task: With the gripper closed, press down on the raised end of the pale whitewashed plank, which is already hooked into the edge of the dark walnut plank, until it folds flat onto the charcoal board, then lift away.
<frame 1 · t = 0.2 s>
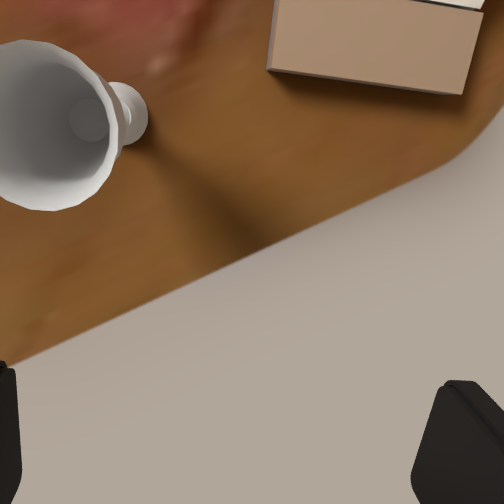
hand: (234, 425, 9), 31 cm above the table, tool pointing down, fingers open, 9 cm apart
chalice: (117, 114, 36), on the table
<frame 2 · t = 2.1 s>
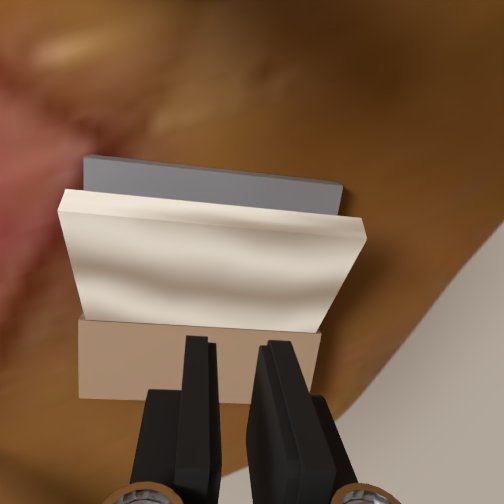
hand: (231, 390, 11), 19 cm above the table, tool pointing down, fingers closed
floor sample board: (207, 281, 30), on the table
pale plank: (211, 273, 25), point 5 cm above the table, hinge at 30.0°
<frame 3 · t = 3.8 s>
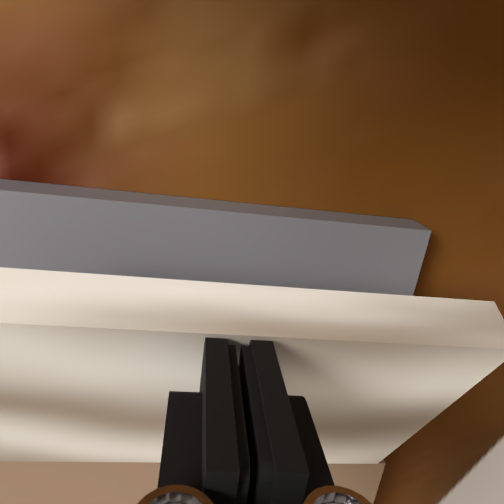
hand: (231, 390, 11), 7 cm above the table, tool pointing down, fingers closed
floor sample board: (201, 373, 19), on the table
pale plank: (209, 392, 14), point 5 cm above the table, hinge at 27.0°, touching gripper
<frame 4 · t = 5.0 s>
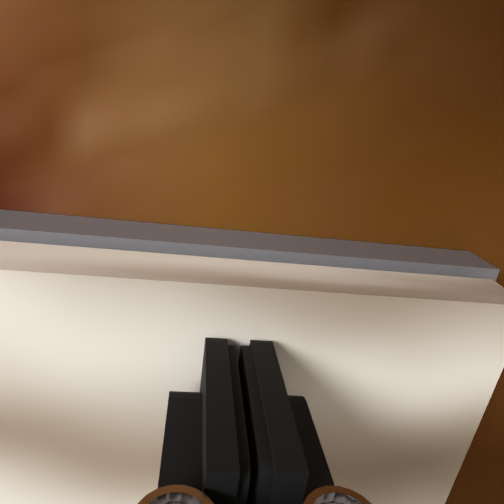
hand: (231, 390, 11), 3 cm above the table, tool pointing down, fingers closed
floor sample board: (199, 440, 15), on the table
pale plank: (208, 425, 12), point 3 cm above the table, hinge at 1.9°, touching gripper
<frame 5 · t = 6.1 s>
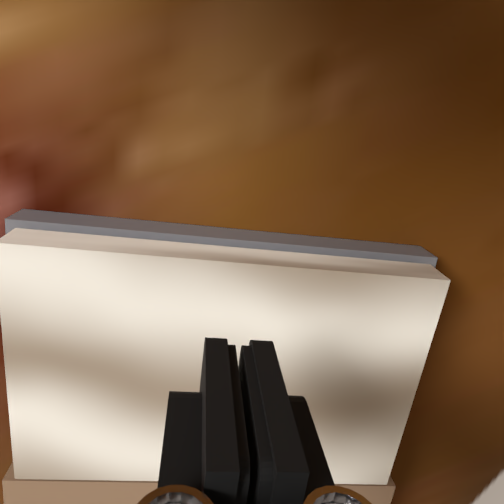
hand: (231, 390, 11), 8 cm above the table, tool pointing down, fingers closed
floor sample board: (214, 395, 20), on the table
pale plank: (222, 371, 16), point 3 cm above the table, hinge at 1.9°
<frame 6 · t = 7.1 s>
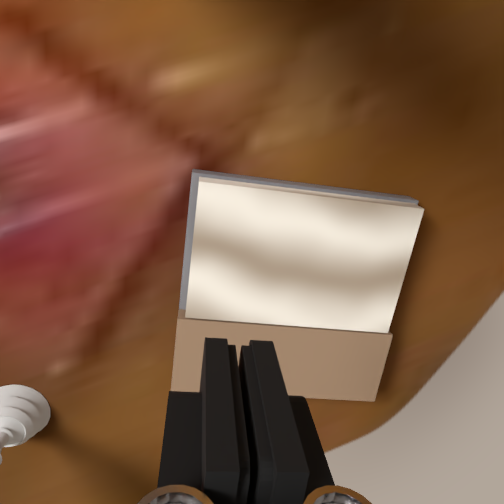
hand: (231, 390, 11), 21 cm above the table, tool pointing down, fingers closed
floor sample board: (286, 285, 33), on the table
pale plank: (300, 260, 30), point 3 cm above the table, hinge at 1.9°
chalice: (18, 409, 34), on the table
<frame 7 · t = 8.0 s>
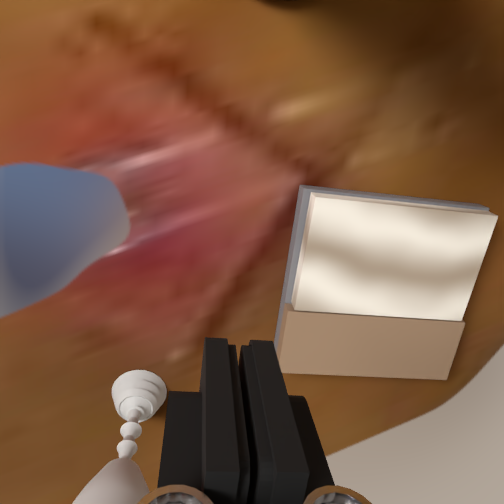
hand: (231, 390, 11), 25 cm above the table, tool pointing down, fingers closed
floor sample board: (371, 281, 38), on the table
pale plank: (390, 260, 35), point 3 cm above the table, hinge at 1.9°
chalice: (139, 391, 40), on the table
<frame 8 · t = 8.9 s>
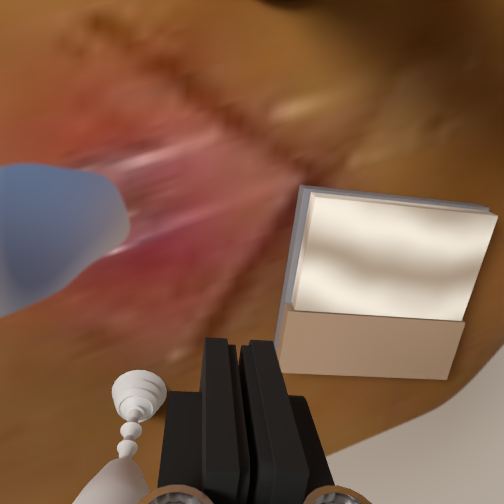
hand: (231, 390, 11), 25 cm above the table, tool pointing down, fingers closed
floor sample board: (371, 281, 38), on the table
pale plank: (390, 260, 35), point 3 cm above the table, hinge at 1.9°
chalice: (139, 391, 40), on the table
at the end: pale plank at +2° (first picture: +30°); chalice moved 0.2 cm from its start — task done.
